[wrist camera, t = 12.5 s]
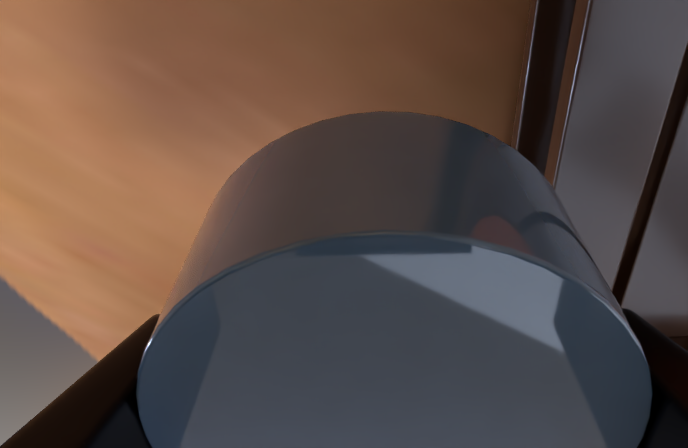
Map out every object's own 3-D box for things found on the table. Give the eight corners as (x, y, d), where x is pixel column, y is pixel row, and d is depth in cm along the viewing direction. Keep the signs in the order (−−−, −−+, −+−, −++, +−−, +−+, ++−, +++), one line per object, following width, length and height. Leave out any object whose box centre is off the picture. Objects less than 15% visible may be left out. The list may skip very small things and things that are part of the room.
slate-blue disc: (613, 101, 7) (737, 225, 5) (543, 401, 11) (593, 561, 8) (156, 117, 8) (58, 239, 5) (232, 402, 11) (194, 554, 9)
